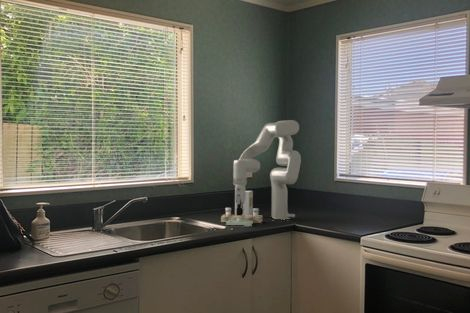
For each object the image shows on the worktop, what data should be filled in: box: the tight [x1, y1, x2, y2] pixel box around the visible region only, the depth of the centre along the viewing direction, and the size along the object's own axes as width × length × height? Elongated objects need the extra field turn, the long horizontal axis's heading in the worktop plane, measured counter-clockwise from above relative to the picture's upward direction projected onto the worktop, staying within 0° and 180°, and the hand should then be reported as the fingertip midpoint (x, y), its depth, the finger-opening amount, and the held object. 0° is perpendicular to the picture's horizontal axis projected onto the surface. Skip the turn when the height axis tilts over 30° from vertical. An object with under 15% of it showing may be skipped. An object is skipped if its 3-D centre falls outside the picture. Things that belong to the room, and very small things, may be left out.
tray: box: [225, 220, 254, 227], centre depth 265 cm, size 14×9×2 cm, turn 82°
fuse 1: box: [225, 207, 232, 216], centre depth 276 cm, size 3×3×8 cm
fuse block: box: [220, 214, 264, 224], centre depth 275 cm, size 23×8×4 cm, turn 82°
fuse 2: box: [253, 207, 260, 217], centre depth 273 cm, size 3×3×8 cm
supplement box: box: [234, 190, 254, 215], centre depth 292 cm, size 10×9×17 cm
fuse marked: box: [237, 208, 243, 222], centre depth 265 cm, size 3×3×8 cm
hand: (239, 214), depth 265 cm, fingers closed on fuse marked, 3 cm apart
